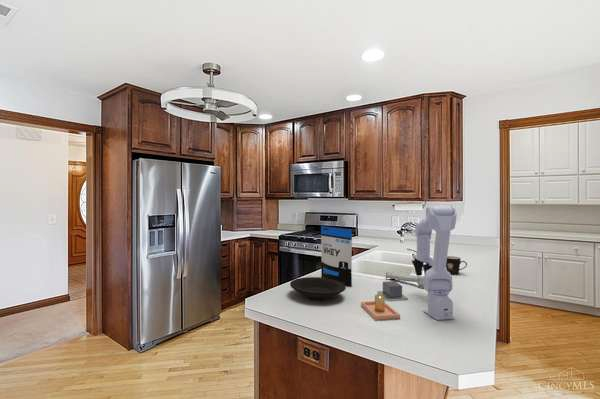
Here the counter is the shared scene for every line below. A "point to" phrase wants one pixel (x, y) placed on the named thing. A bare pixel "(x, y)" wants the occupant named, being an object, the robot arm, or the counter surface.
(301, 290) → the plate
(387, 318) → the terracotta tray
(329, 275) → the protein powder
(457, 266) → the coffee mug
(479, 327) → the counter surface
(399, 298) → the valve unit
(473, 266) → the counter surface
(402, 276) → the pale grey long piece
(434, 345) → the counter surface
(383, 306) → the cylinder
